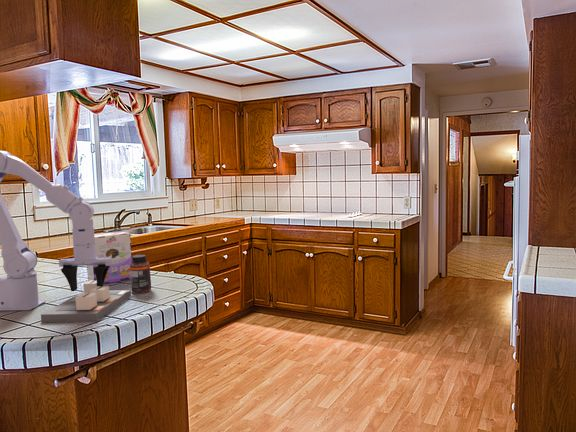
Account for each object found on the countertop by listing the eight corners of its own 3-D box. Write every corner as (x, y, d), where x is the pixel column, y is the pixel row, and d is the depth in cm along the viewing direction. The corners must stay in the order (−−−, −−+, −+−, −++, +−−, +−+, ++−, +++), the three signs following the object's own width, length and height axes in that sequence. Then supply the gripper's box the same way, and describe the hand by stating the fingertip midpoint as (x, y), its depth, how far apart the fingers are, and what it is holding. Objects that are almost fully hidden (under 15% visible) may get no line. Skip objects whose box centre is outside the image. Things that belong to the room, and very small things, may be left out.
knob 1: (84, 294, 131) (83, 283, 131) (90, 291, 135) (90, 280, 135) (96, 294, 131) (95, 283, 130) (102, 290, 135) (101, 279, 134)
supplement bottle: (144, 288, 147) (142, 253, 146) (155, 290, 143) (153, 255, 142) (127, 292, 142) (125, 256, 141) (138, 295, 138) (136, 258, 137)
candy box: (126, 276, 165) (123, 231, 163) (133, 278, 161) (131, 232, 159) (87, 283, 155) (84, 235, 154) (94, 286, 151) (91, 237, 150)
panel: (41, 322, 114) (40, 313, 114) (85, 297, 137) (84, 289, 137) (96, 321, 114) (95, 312, 114) (131, 296, 137) (130, 289, 136)
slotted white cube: (76, 310, 116) (75, 297, 115) (83, 305, 120) (83, 293, 119) (90, 309, 116) (89, 297, 115) (97, 305, 120) (96, 292, 119)
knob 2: (90, 301, 123) (89, 289, 123) (97, 297, 127) (96, 286, 127) (103, 301, 123) (102, 289, 123) (109, 297, 127) (109, 285, 127)
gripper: (51, 246, 128) (55, 294, 129) (102, 245, 127) (105, 293, 129) (64, 242, 135) (68, 287, 136) (113, 241, 134) (116, 287, 136)
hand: (87, 290), depth 133 cm, fingers open, 7 cm apart
